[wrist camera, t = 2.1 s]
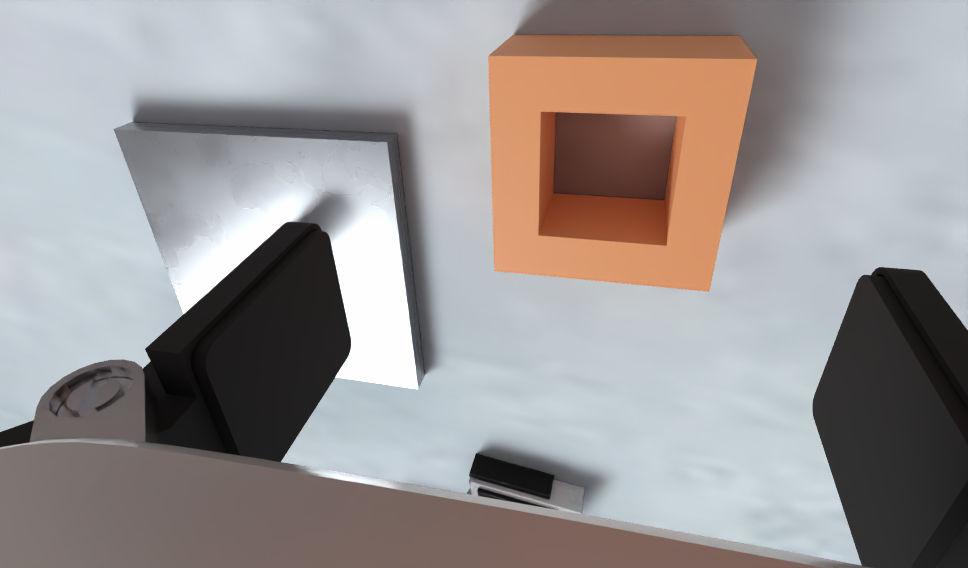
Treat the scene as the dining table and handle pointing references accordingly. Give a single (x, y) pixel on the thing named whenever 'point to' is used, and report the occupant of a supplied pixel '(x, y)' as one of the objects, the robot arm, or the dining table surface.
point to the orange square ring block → (616, 90)
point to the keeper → (287, 198)
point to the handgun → (522, 485)
